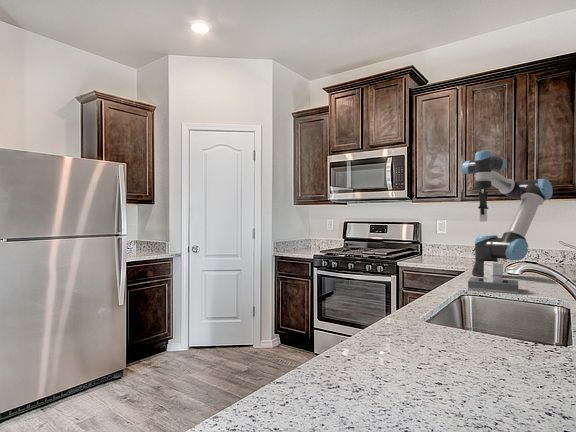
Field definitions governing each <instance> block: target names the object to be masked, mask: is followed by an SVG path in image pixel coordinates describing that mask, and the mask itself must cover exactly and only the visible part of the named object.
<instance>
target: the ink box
mask: <svg viewBox="0 0 576 432" xmlns="http://www.w3.org/2000/svg"><path fill="white" fill-rule="evenodd" d="M503 270H504V264H503V263H502V262H499V261H498V262H491V261H484V277H483V278H484V282H496V283H503V279H504V277H503V275H504V274H503V273H504V271H503Z"/></svg>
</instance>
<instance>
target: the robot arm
mask: <svg viewBox="0 0 576 432" xmlns="http://www.w3.org/2000/svg"><path fill="white" fill-rule="evenodd" d="M474 156H475V157H474V159H469V160H467V161H464V162H463V164H462V166H461V168H462V172H463V173H464V174H466V175H473V177H474V178H475V182H474V184H475V186H474V187H475V189H476V190H479V192H478V196H479V197H478V199H479V206H478V207H477V209H479V222H488V210H489V207H488V194H489V193H488V191H487V189H491V188H492V186H493V187H495V188H496V189H498V191H499V192H500V193H501V194H502V195H504V196H506V197H509V198H511V199H515V200H519V201H521V202H520V204H519V206H518V209H517V210H516V213H515V215H514V218H513V219H512V222H511V224H510V226H509V228H508V230H507V231H505V232H504V233H502V236H501V237H498V235H495V234H494V235H493V234H492V235H481V236H476V238H475V240H474V255H475V257H474V260H475V261H474V264H473V267H472V270H471V275H472V276H473V277H474V276H475V277H479V278H484V261H491V262H498V263H499V260H508V261H521V260H523V259H524V258H526V256H527V254H528V251H529V245H528V242H527V239H526V235H527V232H528V230H529V229H530V226H531V224H532V223H533V222H532V221H533V219H534V217H535V215H536V212H537V211H538V208H539V206H541V205H543V204H544V202H545V200H548V199H551V198H552V197H553V193H554V191H553V186H552V183H551V182H550V181H549V180H548V179H547V178H538V179H525V180H514V179H512V178H507V177H505V176H503V175H501V174H500V173H499V172H502V171H504V170H505V169H506V167H507V165H508V161H507V159H505V157H501V156H493V155H492V152H491V151H490V150H481V151H477V152H476V153H475V154H474Z"/></svg>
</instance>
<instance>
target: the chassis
mask: <svg viewBox="0 0 576 432" xmlns="http://www.w3.org/2000/svg"><path fill="white" fill-rule="evenodd" d="M467 290H468V291H479V292H480V291H481V292H492V293H502V294H504V293H505V294H515V295H516V294H517V295H519V280H518V279H517V280H516V279H504V278H503V283H496V282H484V277H478V276H475V277H474V276H471V277H470V278H469V279H468V281H467Z"/></svg>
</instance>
